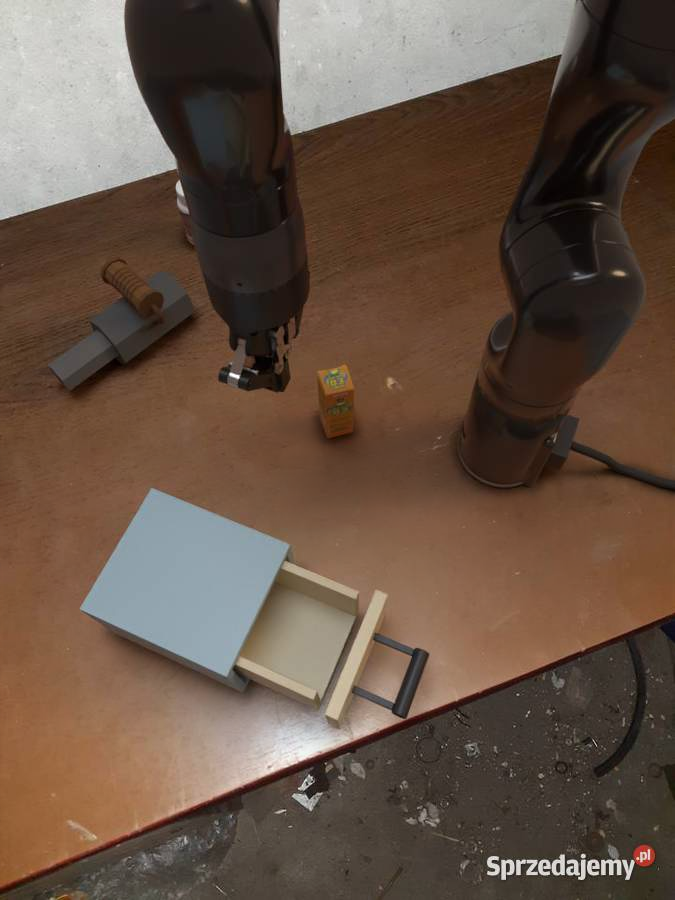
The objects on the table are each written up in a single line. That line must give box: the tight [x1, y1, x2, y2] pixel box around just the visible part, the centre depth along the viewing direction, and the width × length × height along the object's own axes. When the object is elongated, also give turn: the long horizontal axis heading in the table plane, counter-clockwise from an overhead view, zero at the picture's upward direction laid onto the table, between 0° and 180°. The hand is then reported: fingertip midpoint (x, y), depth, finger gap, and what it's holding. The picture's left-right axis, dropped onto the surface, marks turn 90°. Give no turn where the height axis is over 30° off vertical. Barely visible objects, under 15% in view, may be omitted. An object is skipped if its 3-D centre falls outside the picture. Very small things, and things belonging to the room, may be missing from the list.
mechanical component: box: [47, 256, 196, 392], centre depth 80 cm, size 10×18×10 cm, turn 135°
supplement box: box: [315, 364, 355, 439], centre depth 75 cm, size 3×3×10 cm
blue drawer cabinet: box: [79, 487, 296, 694], centre depth 66 cm, size 15×13×10 cm
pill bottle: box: [175, 179, 194, 246], centre depth 89 cm, size 5×5×8 cm
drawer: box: [232, 561, 430, 730], centre depth 63 cm, size 19×11×8 cm, turn 67°
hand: (277, 383), depth 63 cm, fingers closed
